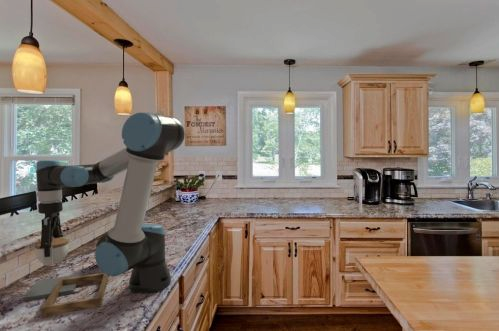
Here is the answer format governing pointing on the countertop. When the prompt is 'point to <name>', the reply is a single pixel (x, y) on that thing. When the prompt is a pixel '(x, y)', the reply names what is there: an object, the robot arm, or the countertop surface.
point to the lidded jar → (54, 250)
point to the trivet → (49, 288)
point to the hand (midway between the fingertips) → (53, 259)
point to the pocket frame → (78, 305)
